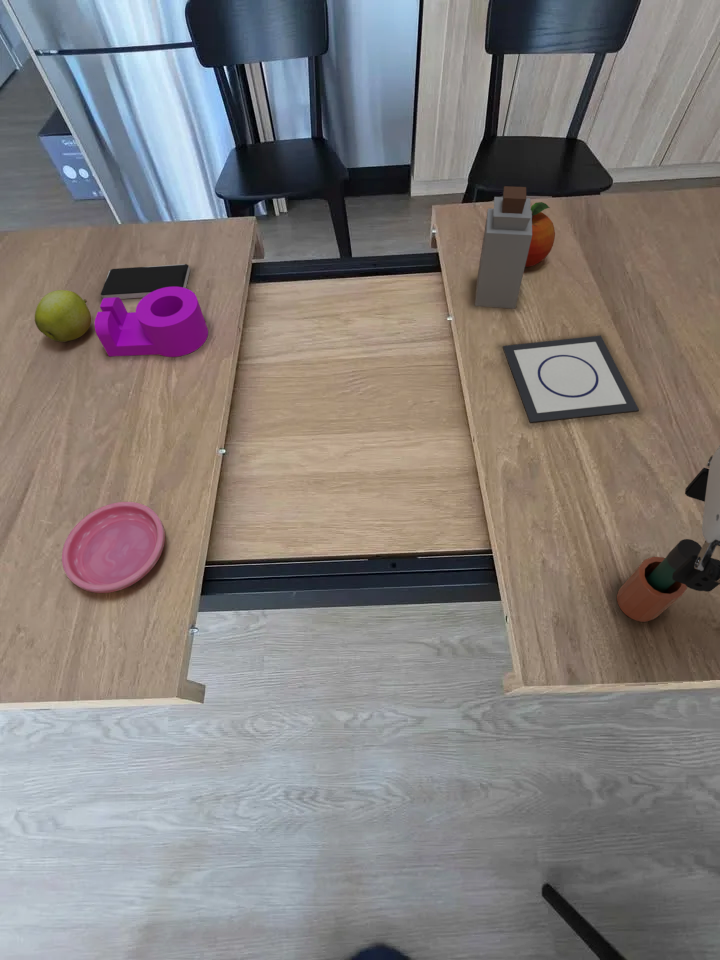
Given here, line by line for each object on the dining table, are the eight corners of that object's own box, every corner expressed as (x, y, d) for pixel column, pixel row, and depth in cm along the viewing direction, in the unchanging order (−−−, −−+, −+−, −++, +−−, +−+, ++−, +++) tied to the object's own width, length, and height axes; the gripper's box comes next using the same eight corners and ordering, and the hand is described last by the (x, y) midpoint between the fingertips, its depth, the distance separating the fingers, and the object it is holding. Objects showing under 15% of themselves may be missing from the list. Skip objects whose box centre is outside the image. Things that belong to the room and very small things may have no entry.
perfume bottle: (515, 308, 94) (538, 206, 79) (475, 305, 95) (491, 204, 80) (515, 283, 98) (538, 181, 83) (476, 281, 99) (492, 179, 84)
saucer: (64, 537, 73) (52, 525, 70) (156, 498, 76) (147, 485, 73) (83, 617, 66) (71, 608, 64) (182, 572, 69) (174, 561, 67)
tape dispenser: (211, 315, 96) (201, 285, 91) (203, 355, 91) (192, 325, 86) (121, 319, 97) (106, 289, 92) (107, 359, 91) (90, 330, 86)
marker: (645, 589, 65) (697, 537, 54) (653, 608, 63) (707, 558, 53) (626, 592, 65) (673, 540, 54) (633, 610, 63) (684, 561, 53)
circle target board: (600, 336, 89) (601, 334, 89) (638, 411, 80) (639, 409, 80) (502, 347, 89) (503, 345, 89) (529, 423, 80) (530, 421, 80)
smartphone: (110, 268, 104) (188, 263, 103) (112, 273, 105) (190, 268, 104) (99, 295, 99) (182, 290, 99) (102, 301, 100) (184, 296, 100)
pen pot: (650, 580, 66) (675, 553, 60) (667, 619, 63) (695, 596, 57) (610, 584, 66) (631, 558, 60) (625, 624, 63) (649, 601, 57)
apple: (110, 323, 96) (90, 284, 90) (75, 357, 92) (51, 319, 85) (76, 312, 99) (53, 273, 92) (40, 345, 94) (13, 307, 87)
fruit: (485, 253, 103) (493, 201, 95) (528, 238, 105) (540, 186, 97) (514, 281, 98) (525, 229, 90) (558, 266, 100) (574, 213, 92)
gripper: (887, 546, 32) (731, 638, 47) (872, 353, 41) (744, 480, 55) (747, 503, 34) (639, 604, 48) (761, 327, 43) (665, 457, 57)
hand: (695, 538), depth 52 cm, fingers open, 9 cm apart
